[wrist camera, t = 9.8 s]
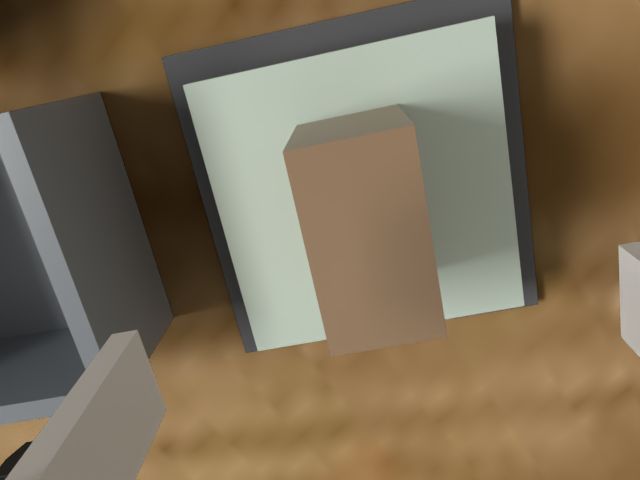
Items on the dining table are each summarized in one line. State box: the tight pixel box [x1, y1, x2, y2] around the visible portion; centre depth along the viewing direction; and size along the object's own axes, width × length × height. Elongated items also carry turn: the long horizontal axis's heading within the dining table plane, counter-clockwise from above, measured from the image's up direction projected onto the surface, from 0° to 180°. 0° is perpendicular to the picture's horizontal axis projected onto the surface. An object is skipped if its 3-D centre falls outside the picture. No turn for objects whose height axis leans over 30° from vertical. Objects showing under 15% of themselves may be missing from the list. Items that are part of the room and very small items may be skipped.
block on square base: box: [183, 16, 524, 357], centre depth 27 cm, size 15×15×10 cm
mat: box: [162, 0, 538, 353], centre depth 32 cm, size 18×18×1 cm
